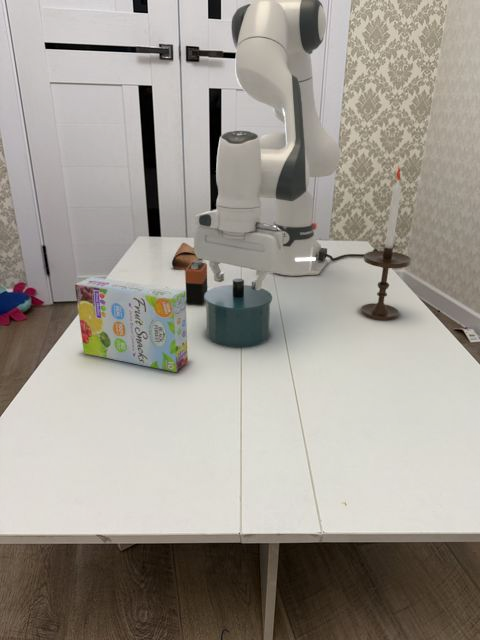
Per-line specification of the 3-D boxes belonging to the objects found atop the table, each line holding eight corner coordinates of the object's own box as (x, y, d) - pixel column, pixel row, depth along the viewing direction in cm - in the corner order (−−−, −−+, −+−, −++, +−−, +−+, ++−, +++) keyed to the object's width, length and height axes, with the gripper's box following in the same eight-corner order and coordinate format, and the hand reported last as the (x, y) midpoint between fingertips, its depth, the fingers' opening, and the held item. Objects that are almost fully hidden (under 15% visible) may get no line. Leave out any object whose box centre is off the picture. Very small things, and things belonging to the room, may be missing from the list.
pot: (228, 317, 121) (229, 283, 117) (279, 330, 115) (280, 295, 111) (195, 337, 110) (193, 301, 106) (248, 352, 104) (249, 314, 100)
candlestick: (383, 325, 119) (407, 169, 104) (348, 311, 126) (365, 164, 111) (410, 314, 126) (435, 166, 110) (375, 302, 133) (394, 161, 117)
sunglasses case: (200, 268, 153) (188, 249, 151) (180, 279, 155) (168, 260, 152) (205, 252, 170) (194, 235, 167) (187, 262, 171) (176, 245, 168)
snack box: (189, 361, 100) (187, 289, 93) (176, 374, 95) (172, 299, 89) (98, 343, 106) (90, 274, 99) (81, 354, 101) (71, 283, 95)
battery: (207, 296, 133) (207, 259, 129) (202, 305, 127) (202, 267, 123) (191, 295, 134) (190, 258, 129) (185, 304, 128) (184, 266, 123)
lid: (228, 285, 118) (228, 265, 116) (283, 297, 111) (284, 277, 109) (190, 304, 106) (189, 282, 104) (249, 319, 100) (250, 296, 98)
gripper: (291, 223, 99) (287, 290, 105) (206, 210, 108) (207, 273, 114) (276, 229, 94) (273, 299, 100) (188, 215, 103) (190, 280, 109)
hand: (237, 285), depth 107 cm, fingers open, 8 cm apart
